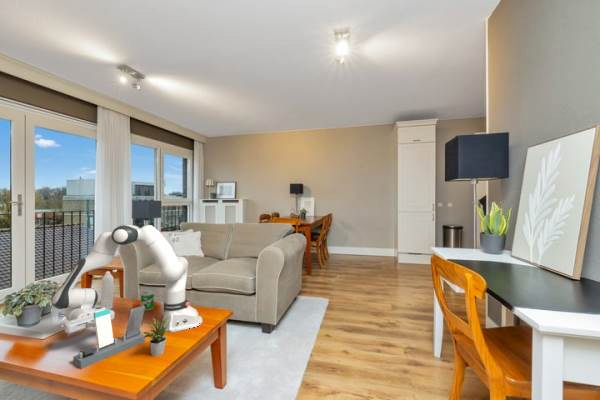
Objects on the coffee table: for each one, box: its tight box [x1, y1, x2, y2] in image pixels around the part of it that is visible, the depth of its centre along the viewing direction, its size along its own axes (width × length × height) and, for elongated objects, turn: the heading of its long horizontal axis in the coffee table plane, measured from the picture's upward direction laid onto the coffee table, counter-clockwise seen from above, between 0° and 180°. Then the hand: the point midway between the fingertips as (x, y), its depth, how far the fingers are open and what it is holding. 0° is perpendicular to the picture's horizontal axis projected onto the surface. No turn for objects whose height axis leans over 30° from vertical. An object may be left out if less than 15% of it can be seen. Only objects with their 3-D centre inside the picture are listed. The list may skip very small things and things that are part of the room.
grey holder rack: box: [72, 328, 146, 370], centre depth 127 cm, size 27×8×5 cm, turn 149°
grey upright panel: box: [124, 305, 145, 339], centre depth 134 cm, size 6×2×16 cm, turn 149°
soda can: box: [140, 289, 155, 312], centre depth 178 cm, size 8×8×12 cm
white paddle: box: [93, 309, 114, 348], centre depth 127 cm, size 6×2×16 cm, turn 149°
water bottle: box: [100, 269, 118, 310], centre depth 179 cm, size 9×6×25 cm
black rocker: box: [79, 346, 97, 355], centre depth 119 cm, size 4×6×1 cm, turn 59°
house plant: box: [139, 316, 173, 357], centre depth 128 cm, size 14×14×16 cm
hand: (97, 324), depth 130 cm, fingers closed
